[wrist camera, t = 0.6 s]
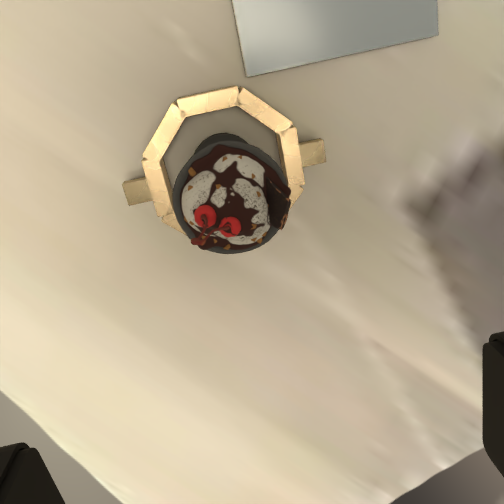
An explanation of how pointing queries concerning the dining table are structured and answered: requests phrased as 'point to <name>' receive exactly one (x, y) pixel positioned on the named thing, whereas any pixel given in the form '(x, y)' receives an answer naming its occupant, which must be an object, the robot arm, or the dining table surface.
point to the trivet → (325, 29)
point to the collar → (153, 163)
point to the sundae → (230, 196)
